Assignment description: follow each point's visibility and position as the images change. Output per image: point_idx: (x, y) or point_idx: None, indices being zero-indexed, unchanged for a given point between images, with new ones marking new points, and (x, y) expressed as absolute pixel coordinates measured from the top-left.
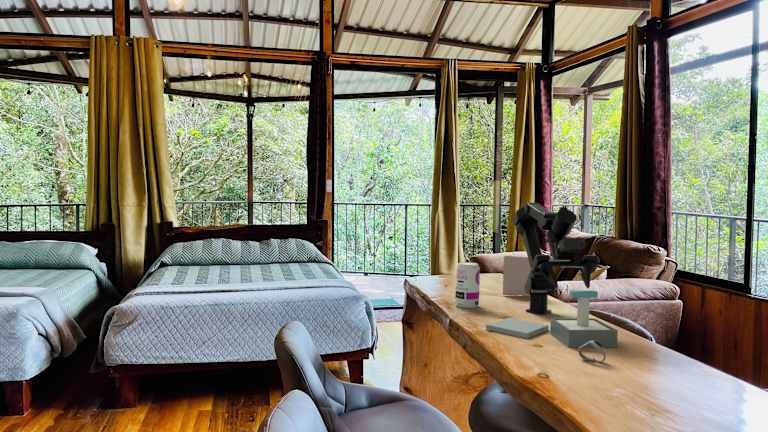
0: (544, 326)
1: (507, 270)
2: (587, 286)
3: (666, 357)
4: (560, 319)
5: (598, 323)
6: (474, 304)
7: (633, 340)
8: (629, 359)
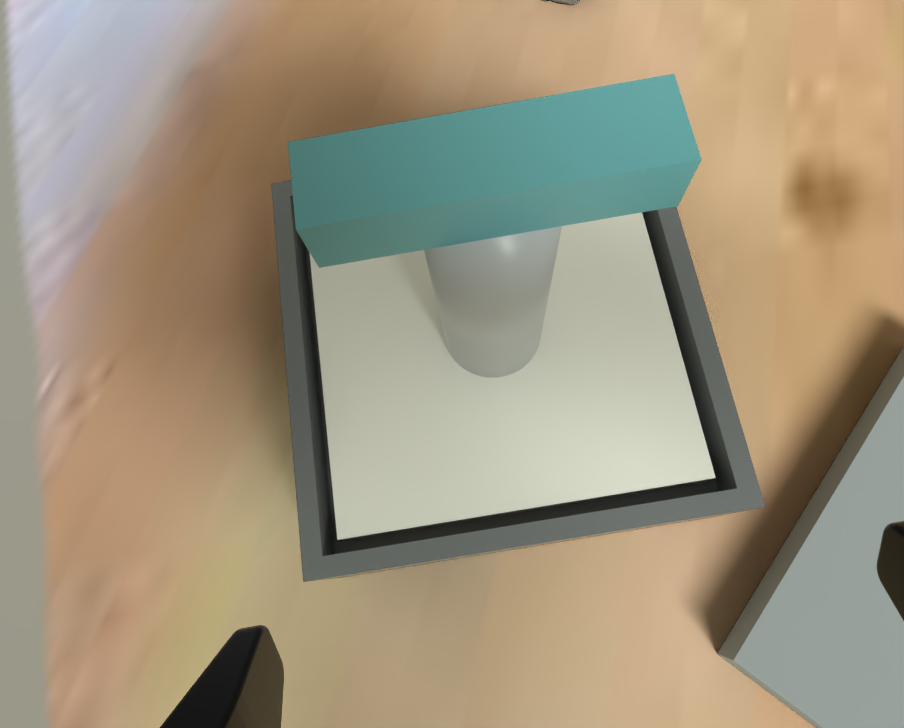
0: (776, 594)
1: None
2: (271, 667)
3: (112, 111)
4: (663, 501)
5: (332, 418)
6: None
7: (118, 436)
8: (331, 44)
